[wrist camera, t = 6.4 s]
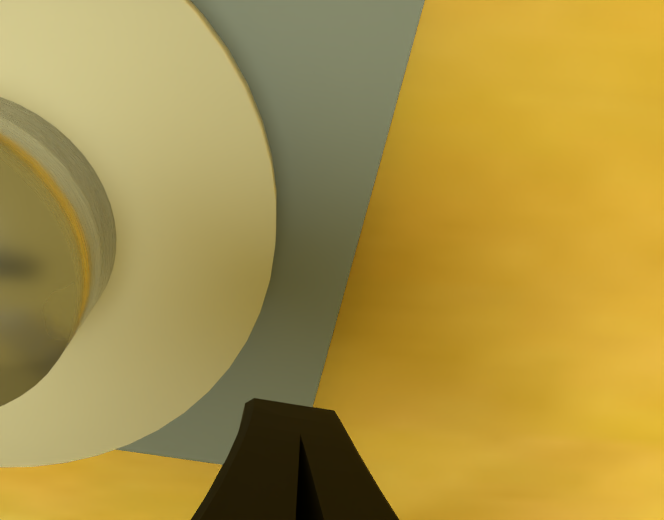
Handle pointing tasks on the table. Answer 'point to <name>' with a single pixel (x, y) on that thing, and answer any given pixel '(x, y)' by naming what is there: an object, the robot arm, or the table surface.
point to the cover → (46, 246)
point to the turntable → (144, 214)
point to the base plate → (302, 189)
